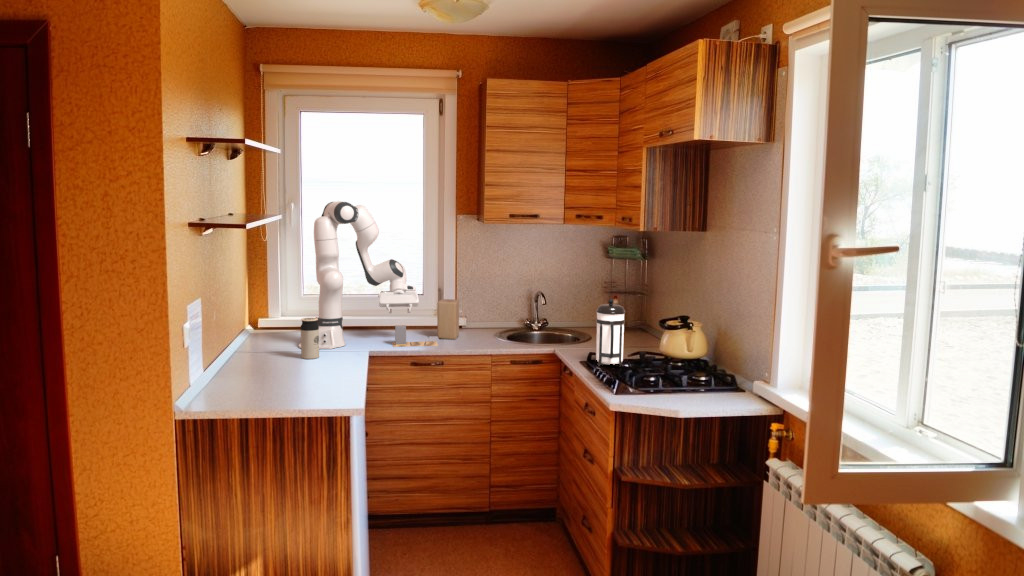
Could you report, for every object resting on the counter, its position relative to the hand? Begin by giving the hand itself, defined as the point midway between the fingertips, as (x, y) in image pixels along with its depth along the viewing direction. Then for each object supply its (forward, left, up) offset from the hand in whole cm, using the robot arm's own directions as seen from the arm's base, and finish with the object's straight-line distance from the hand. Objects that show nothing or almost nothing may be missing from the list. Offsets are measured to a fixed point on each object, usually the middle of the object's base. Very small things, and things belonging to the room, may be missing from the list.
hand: (399, 312), depth 386 cm
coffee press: (+90, -66, -16) cm, 113 cm away
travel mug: (-42, -30, -16) cm, 54 cm away
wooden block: (+26, +12, -16) cm, 33 cm away
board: (+7, -11, -16) cm, 21 cm away
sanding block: (0, -11, -14) cm, 18 cm away
